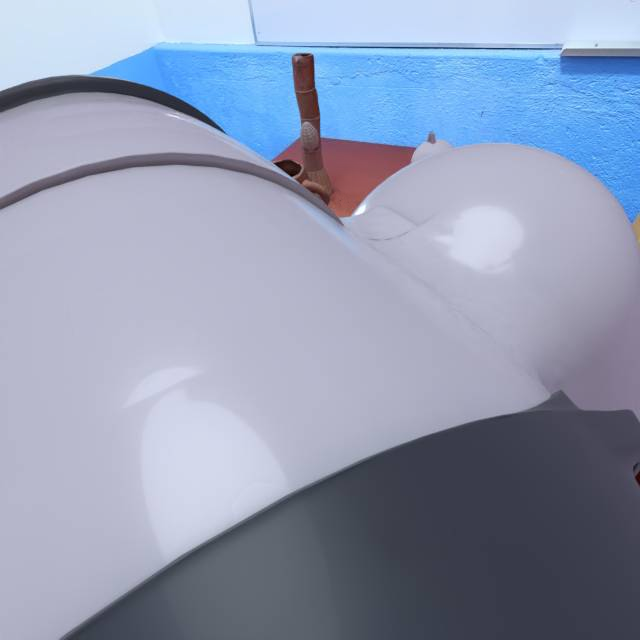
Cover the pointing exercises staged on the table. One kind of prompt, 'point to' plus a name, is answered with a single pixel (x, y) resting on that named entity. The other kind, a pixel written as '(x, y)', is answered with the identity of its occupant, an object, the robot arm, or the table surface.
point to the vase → (309, 119)
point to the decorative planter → (302, 177)
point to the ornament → (430, 147)
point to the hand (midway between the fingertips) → (326, 451)
